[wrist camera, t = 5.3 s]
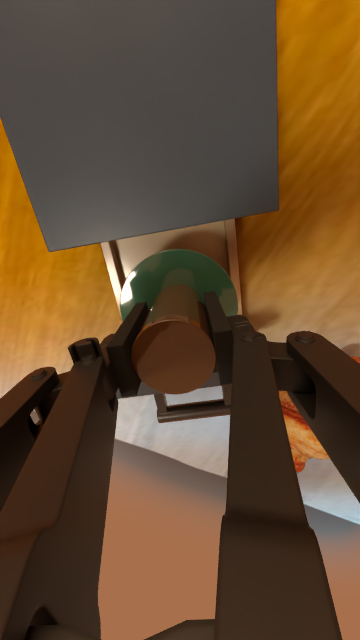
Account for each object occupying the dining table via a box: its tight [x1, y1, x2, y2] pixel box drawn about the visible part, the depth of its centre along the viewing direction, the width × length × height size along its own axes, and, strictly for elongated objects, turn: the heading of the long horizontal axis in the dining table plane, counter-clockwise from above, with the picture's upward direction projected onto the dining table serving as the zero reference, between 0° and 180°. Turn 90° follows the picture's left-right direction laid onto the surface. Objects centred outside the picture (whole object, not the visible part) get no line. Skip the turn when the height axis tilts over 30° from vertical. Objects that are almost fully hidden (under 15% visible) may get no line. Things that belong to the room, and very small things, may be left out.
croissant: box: [278, 357, 360, 472], centre depth 29 cm, size 21×10×8 cm, turn 152°
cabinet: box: [0, 0, 279, 252], centre depth 16 cm, size 18×15×9 cm
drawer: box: [100, 219, 242, 423], centre depth 21 cm, size 24×15×7 cm, turn 10°
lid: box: [120, 248, 238, 394], centre depth 14 cm, size 9×9×8 cm
